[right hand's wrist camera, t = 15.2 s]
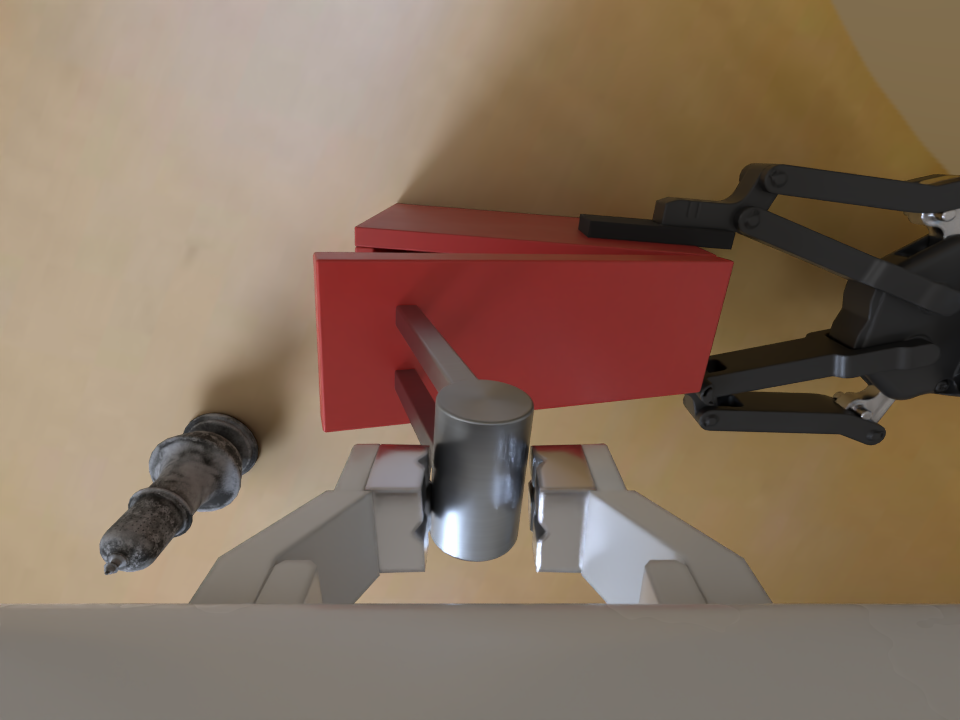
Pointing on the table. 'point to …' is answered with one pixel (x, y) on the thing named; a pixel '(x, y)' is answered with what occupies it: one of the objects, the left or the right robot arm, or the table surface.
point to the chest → (491, 234)
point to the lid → (502, 358)
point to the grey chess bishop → (180, 489)
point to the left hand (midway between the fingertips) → (574, 292)
